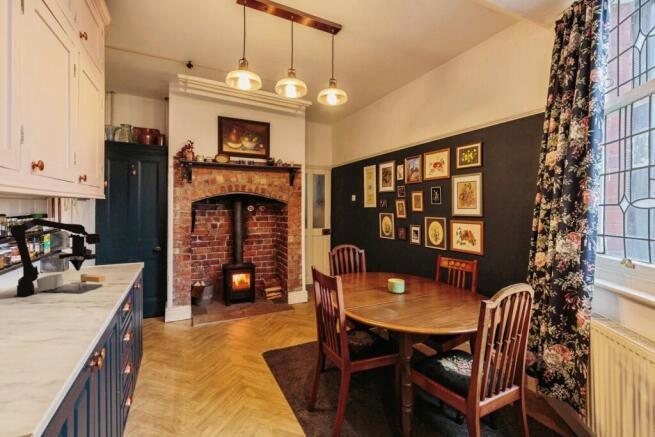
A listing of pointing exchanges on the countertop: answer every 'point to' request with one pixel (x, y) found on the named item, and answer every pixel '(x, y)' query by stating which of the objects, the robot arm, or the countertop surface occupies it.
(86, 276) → the swing arm
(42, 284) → the supplement box
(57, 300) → the countertop surface
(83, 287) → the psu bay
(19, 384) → the countertop surface
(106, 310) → the countertop surface
